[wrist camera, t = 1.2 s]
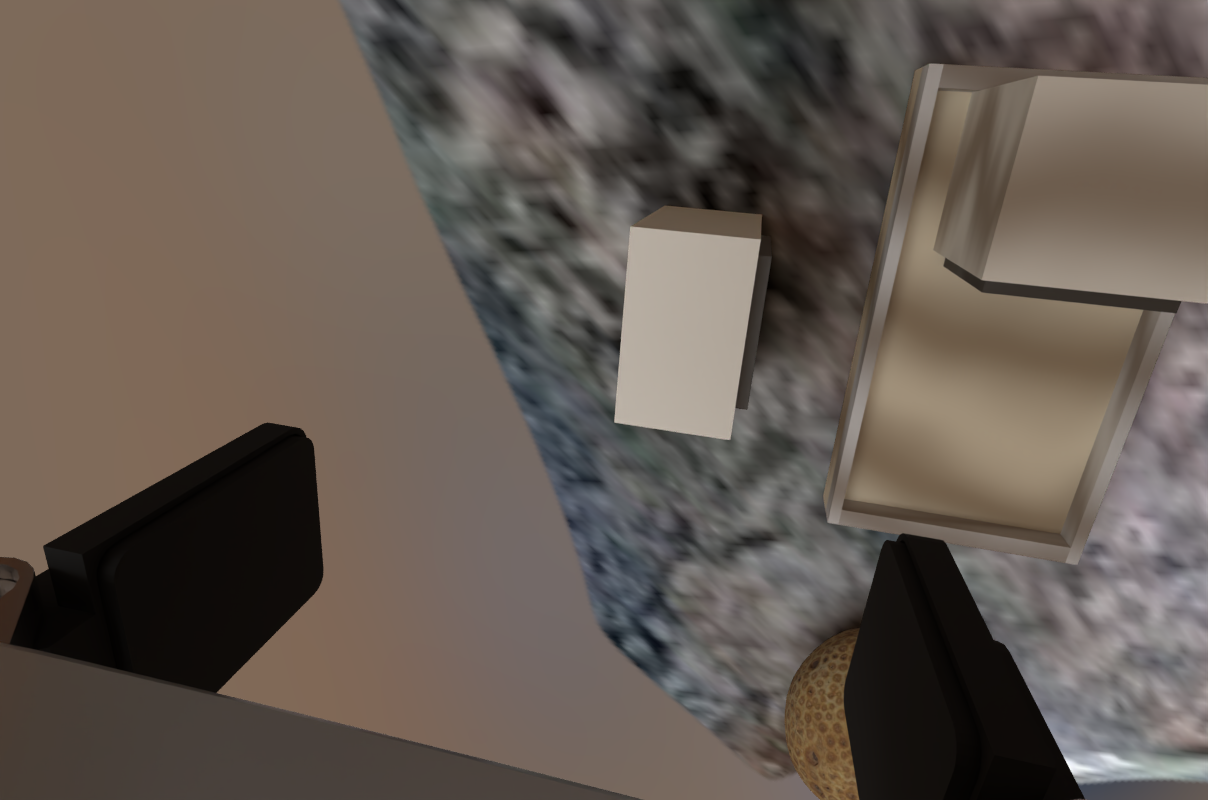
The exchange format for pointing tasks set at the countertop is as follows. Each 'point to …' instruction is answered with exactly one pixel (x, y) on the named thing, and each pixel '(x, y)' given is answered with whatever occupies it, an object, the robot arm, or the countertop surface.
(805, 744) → the natural sponge
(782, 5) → the countertop surface
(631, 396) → the tall beige carton
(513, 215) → the countertop surface
